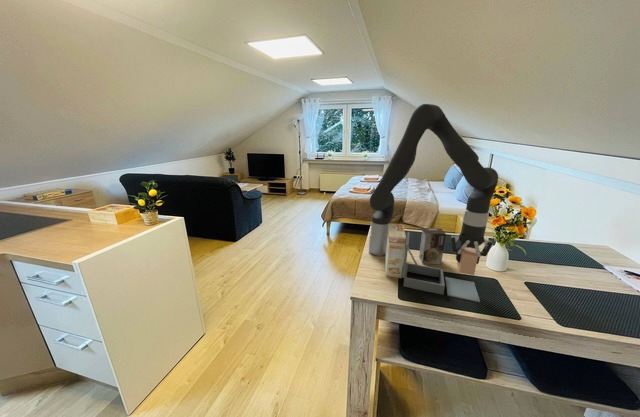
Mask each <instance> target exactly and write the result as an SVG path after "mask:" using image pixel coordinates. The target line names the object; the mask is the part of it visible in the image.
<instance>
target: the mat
mask: <svg viewBox="0 0 640 417" xmlns="http://www.w3.org/2000/svg"><path fill="white" fill-rule="evenodd" d="M444 282H445V288H446V294H447V297H452V298H458V299H461V300H467V301H471V302H476V303H481V301H480V300H481V299H480V296H479V292H478V290H477V288H476V284H475V282H474V281H469V280H464V279H460V278H453V277H448V276H445V277H444Z"/></svg>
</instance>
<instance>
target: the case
mask: <svg viewBox="0 0 640 417" xmlns="http://www.w3.org/2000/svg"><path fill="white" fill-rule="evenodd" d="M410 234H411V233H410V232H409V231H407V233H406V243H405V252H404V260H403V269H402V278H403V287H405V288H408V289H409V288H410V289H414V290H415V289H416V290H418V291H424V292H428V293H433V294H438V295H442V296H443V295H444V293H445V288H446V283H445V277H444V270H443V268H440V267H439V268H438V267H431V266H427V265H423V264H418V263H417V260H416V259H415V257H414V255H413V253H412V251H411V249H410V247H409V243H410ZM408 253H409V255H410V257H411V259H412V261H413V262H414V263H410V262H408V261H407V260H408ZM408 273H413V274H414V273H415V274H419V275H424V276H429V277H434V278H438V279H439V283H436V282H432V281H426V280H421V279H417V278H412V277H407V276H408ZM402 278H401V279H402Z"/></svg>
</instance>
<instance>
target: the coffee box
mask: <svg viewBox="0 0 640 417" xmlns="http://www.w3.org/2000/svg"><path fill="white" fill-rule="evenodd" d="M420 236H421V238H420V243H419V244H420V245H419V255H418V258H419V261H420V262H421V264H427V265H428V264H435V265H441V264H442V261H443V255H444V249H445V241H446V236H447V234H446V232H445V231H444V230H443V229H442V228H435V227H434V228H432V227H431V228H428V227H425V228H423V227H422V229H421V235H420Z"/></svg>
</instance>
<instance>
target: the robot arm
mask: <svg viewBox="0 0 640 417" xmlns="http://www.w3.org/2000/svg"><path fill="white" fill-rule="evenodd" d="M427 130H428V131H429V130H430V132H433V134H434V135H436V137H438V139H439V140H440V142H441V144H442V146H443V149H444V150H445V152H446V154H447V155H448V157H449V158H450V159H451V160H452V162H454V164H455V165H456V166H457V167H458V168H459V170H460V172H461V173H462V175H463V177H464V179H465V181H466V182H467V183H468V184H469V186H471V187H472V191H471V192H472V193H470V195H469V196H468V197H467V202H466V208H465V211H464V214H463V217H462V223H461V224H462V225H461V230H460V232H459V234H458V235H454V234H453V235H450V241H451V249H452V252H453V253H456V255H455V260H456V262H457V261H458V262H460V258H461V253H462V251H463V250H464V249H465V248H466V247H467V248H474V249H475V251H476V253H477V255H478V259H477V264H476V265H478V264H479V263H480V258H481V257H487V255H488V253H489V252H490V250H491V249H492V247H493V245H494V244H493V242H492V240H490V239H488V240H487V239H485V233H486V229H487V225H488V220H489V212H490V211H489V210H490V206H491V201H492V198H493V196H494V193H495V191H496V188H497V185H498V182H499V173H498V172H497V171H496V170H495V169H494V168H493V167H484V166H483V164H481V162H480V161H479V156H478V154H477V153H476V152H475V151H474V149H473V148H472V147H471V145H469V144H468V143H467V142H466V141H465V140H464V139H463V138H462V137H461V136H460V134H459V133H458V132H457V130H456V129H455V128H454V127H453V125H452V124H451V122H450V121H449V120H448V118H447V116H446V114H445V113H444V111H443V110H442V108H441V107H440V106H438V105H436V104H431V103H421V104H419V105H418V106H416V108H415V109H414V110H413V111H412V114H411V116H410V118H409V121H408V123H407V125H406V128H405V131H404V134H403V136H402V138H401V140H400V142H399V144H398V146H397V148H396V150H395V151H394V153H393V156H392V157H391V159H390V161H389V163H388V166H387V168H386V169H385V170H384V174H383V175H382V177H381V179H380V181H379V183H378V184H377V186H376V188H375V189H374V190H373V192H372V193H371V195H370V197H369V205H370V208H371V209H372V210H374V211H375V212H374V213H373V214H372V216H371V227H370V235H369V240H368V241H369V243H368V253H370V254H372V255H374V256H378V257H379V256H380V257H381V256H386V248H387V237H388V226H389V224H391V221H392V220H391V219H392V218H393V215H394V214H393V213H394V208H395V196H394V194H393V192H392V191H393V190H394V189H395V187H396V186H398V184H400V183H401V181H403V179H405V177H406V176H407V175H408V173H410V170H411V169H412V167H413V165H414V162H415V160H416V156H417V149H418V145H419V142H420V141H421V138H422V137H423V135H424V133H425V132H426V131H427ZM458 240H459V241H460V244H459V246H458V247H457V245H456V243H458ZM483 244H484V247H483V249H480V246H481V245H483ZM480 250H481V251H480Z"/></svg>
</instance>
